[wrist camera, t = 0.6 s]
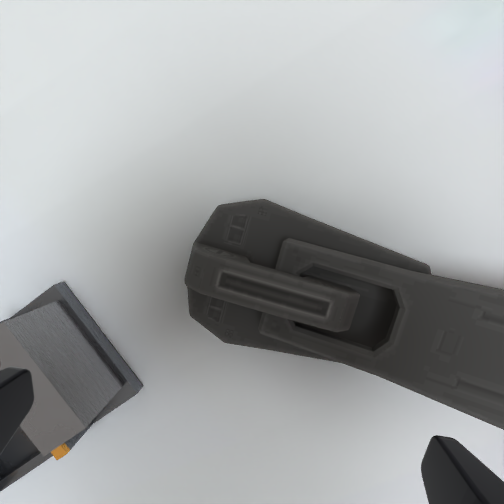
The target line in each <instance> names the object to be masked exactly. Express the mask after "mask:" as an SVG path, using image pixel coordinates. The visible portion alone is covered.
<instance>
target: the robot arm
mask: <svg viewBox="0 0 504 504" xmlns="http://www.w3.org/2000/svg"><path fill="white" fill-rule="evenodd" d="M33 402H34V390H33V382H32V374H31V372H30V371H29V370H28V369H25V368H19V367H8V368H5V369H2V370H0V455H1V453H2V452H3V450H4V449H5V447H6V446H7V444H8V443H9V441H10V440H11V438H12V437H13V435H14V434H15V432H16V431H17V429H18V428H19V426H20V425H21V423H22V422H23V420H24V419H25V417H26V415H27V414H28V412H29V411H30V409H31V407H32V405H33ZM421 473H422V478H423V482H424V486H425V490H426V494H427V498H428V502H429V504H504V482H503V481H502V480H501V479H500V478H499V477H498V476H497V475H495V474H494V473H493V472H492V471H491V470H490V469H489V468H488V467H486V466H485V465H484V464H483V463H482V462H481V461H480V460H479V459H477V458H476V457H475V456H474V455H473V454H472V453H471V452H469V451H468V450H467V449H466V448H465V447H464V446H463V445H462V444H460V443H459V442H458V441H457V440H455V439H453V438H450V437H444V436H437V435H436V436H433V437H432V438H431V440H430V442H429V445H428V447H427V450H426V452H425V455H424V458H423V460H422V464H421Z"/></svg>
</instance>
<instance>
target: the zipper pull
mask: <svg viewBox="0 0 504 504" xmlns="http://www.w3.org/2000/svg"><path fill="white" fill-rule="evenodd" d="M184 281H185V284H186V286H188V299H189V313H190V316H191V317H192V318H194V319H195V320H196V321H198V322H199V323H200V324H201V325H203V326H204V327H205V328H206V329H208V330H209V331H210V332H212V333H213V334H214V335H215V336H217V337H218V338H219V339H221V340H222V341H223V342H225V343H230V344H236V345H242V346H248V347H254V348H261V349H267V350H273V351H278V352H284V353H290V354H295V355H301V356H306V357H312V358H317V359H323V360H328V361H334V362H340V363H343V364H346V365H349V366H352V367H354V368H357V369H360V370H363V371H366V372H368V373H371V374H374V375H377V376H379V377H382V378H384V379H386V380H389V381H391V382H393V383H396V384H398V385H400V386H403V387H405V388H407V389H410V390H412V391H414V392H417V393H419V394H421V395H424V396H426V397H428V398H431V399H433V400H435V401H438V402H440V403H442V404H445V405H447V406H449V407H452V408H454V409H456V410H459V411H461V412H464V413H466V414H468V415H471V416H473V417H475V418H478V419H480V420H482V421H485V422H487V423H489V424H492V425H494V426H496V427H499V428H501V429H503V430H504V290H502V289H498V288H493V287H488V286H483V285H478V284H473V283H468V282H463V281H459V280H454V279H449V278H444V277H439V276H434V275H431V271H430V267H429V266H428V265H427V264H424V263H422V262H419V261H417V260H414V259H412V258H409V257H407V256H404V255H402V254H399V253H397V252H394V251H392V250H389V249H387V248H384V247H382V246H379V245H377V244H374V243H372V242H369V241H367V240H364V239H362V238H359V237H356V236H354V235H351V234H349V233H346V232H344V231H341V230H339V229H336V228H334V227H331V226H329V225H326V224H324V223H321V222H319V221H316V220H314V219H311V218H309V217H306V216H304V215H302V214H299V213H297V212H294V211H292V210H290V209H287V208H285V207H282V206H280V205H278V204H275V203H273V202H270V201H268V200H265V199H259V200H252V201H245V202H237V203H230V204H222V205H219V206H218V207H217V208H216V209H215V211H214V212H213V214H212V215H211V217H210V219H209V220H208V222H207V223H206V225H205V226H204V228H203V229H202V231H201V233H200V234H199V236H198V237H197V239H196V240H195V242H194V244H193V247H192V251H191V255H190V259H189V263H188V267H187V271H186V275H185V279H184Z"/></svg>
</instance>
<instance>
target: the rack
mask: <svg viewBox="0 0 504 504" xmlns="http://www.w3.org/2000/svg"><path fill="white" fill-rule="evenodd" d="M8 367H19V368H25V369H28V370H29V371H30V372H31V374H32V382H33V390H34V402H33V405H32V407H31V409H30V411H29V412H28V414H27V415H26V417H25V419H24V420H23V422H22V423H21V425H20V426H19V428H18V429H17V431H16V432H15V434H14V435H13V437H12V438H11V440H10V441H9V443H8V444H7V446H6V447H5V449H4V450H3V452H2V453H1V455H0V491H2V490H3V489H5V488H6V487H8V486H9V485H11V484H12V483H14V482H15V481H16V480H18V479H19V478H21V477H22V476H24V475H25V474H27V473H28V472H30V471H31V470H33V469H34V468H36V467H37V466H39V465H40V464H42V463H43V462H44V461H46V460H47V459H49V458H50V457H52V456H54V457H55V458H56V460H58V459H60V458H61V457H63V456H64V455H66V454H67V453H68V452H69V451H70V450H71V448H72V447H73V446H74V445H75V444H76V443H77V442H78V440H79V439H80V438H81V437H82V436H83V435H84V433H85V432H86V431H87V430H88V429H89V428H90V427H91V425H92V424H93V423H95V422H96V421H98V420H99V419H101V418H102V417H104V416H105V415H106V414H108V413H109V412H111V411H112V410H114V409H115V408H117V407H118V406H120V405H121V404H123V403H124V402H126V401H127V400H128V399H130V398H131V397H133V396H134V395H136V394H137V393H138V392H139V390H140V389H141V388H142V387H143V385H142V384H141V382H140V381H139V380H138V378H137V377H136V376H135V374H134V373H133V372H132V371H131V369H130V368H129V367H128V365H127V364H126V363H125V361H124V360H123V359H122V357H121V356H120V355H119V353H118V352H117V351H116V349H115V348H114V347H113V346H112V344H111V343H110V342H109V340H108V339H107V338H106V336H105V335H104V334H103V332H102V331H101V330H100V328H99V327H98V326H97V324H96V323H95V322H94V321H93V319H92V318H91V317H90V315H89V314H88V313H87V311H86V310H85V309H84V307H83V306H82V305H81V303H80V302H79V301H78V299H77V298H76V297H75V296H74V294H73V293H72V292H71V290H70V289H69V288H68V286H67V285H66V284H65V282H61V283H58V284H55V285H53V286H52V287H51V288H49V289H48V290H47V291H45V292H44V293H43V294H41V295H40V296H39V297H37V298H36V299H35V300H33V301H32V302H31V303H30V304H28V305H27V306H26V307H24V308H23V309H22V310H20V311H19V312H18V313H16V314H15V315H14V316H12V317H11V318H9V319H6V320H4V321H1V322H0V370H2V369H5V368H8Z"/></svg>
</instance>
